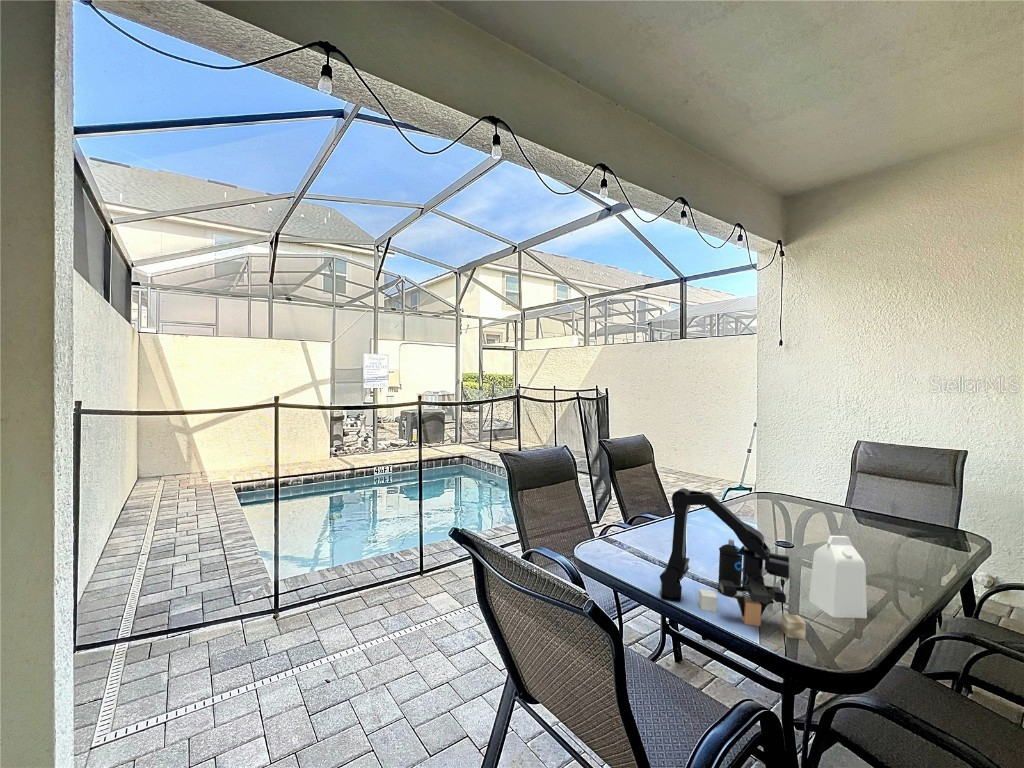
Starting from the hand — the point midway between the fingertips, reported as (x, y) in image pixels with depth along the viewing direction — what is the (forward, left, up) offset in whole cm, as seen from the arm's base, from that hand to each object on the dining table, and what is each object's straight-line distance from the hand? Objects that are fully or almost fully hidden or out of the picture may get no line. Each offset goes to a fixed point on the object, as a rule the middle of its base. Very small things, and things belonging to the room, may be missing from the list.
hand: (750, 616), depth 142 cm
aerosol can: (-1, +21, -2) cm, 21 cm away
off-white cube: (-12, +6, -2) cm, 14 cm away
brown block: (0, 0, -2) cm, 2 cm away
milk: (+34, +19, -2) cm, 39 cm away
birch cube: (+11, -4, -2) cm, 12 cm away
